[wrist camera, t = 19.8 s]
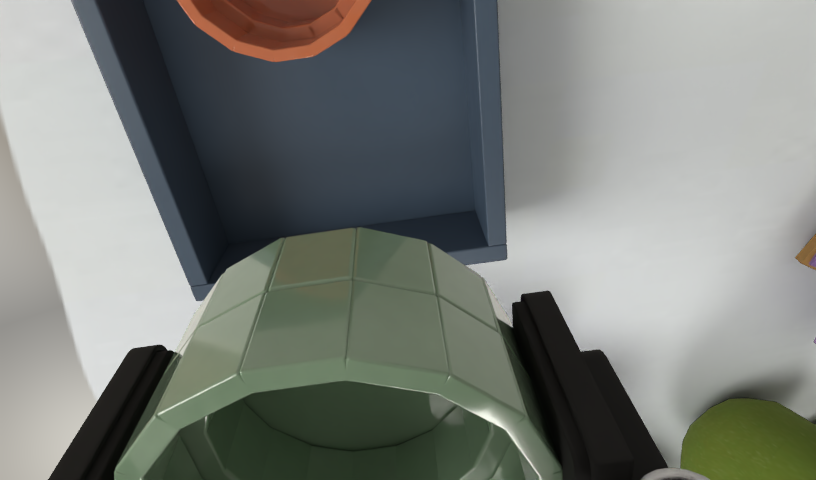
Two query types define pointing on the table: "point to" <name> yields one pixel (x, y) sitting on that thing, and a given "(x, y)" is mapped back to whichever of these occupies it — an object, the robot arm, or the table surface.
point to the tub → (312, 129)
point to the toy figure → (808, 256)
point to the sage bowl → (345, 373)
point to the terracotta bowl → (276, 25)
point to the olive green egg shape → (750, 443)
